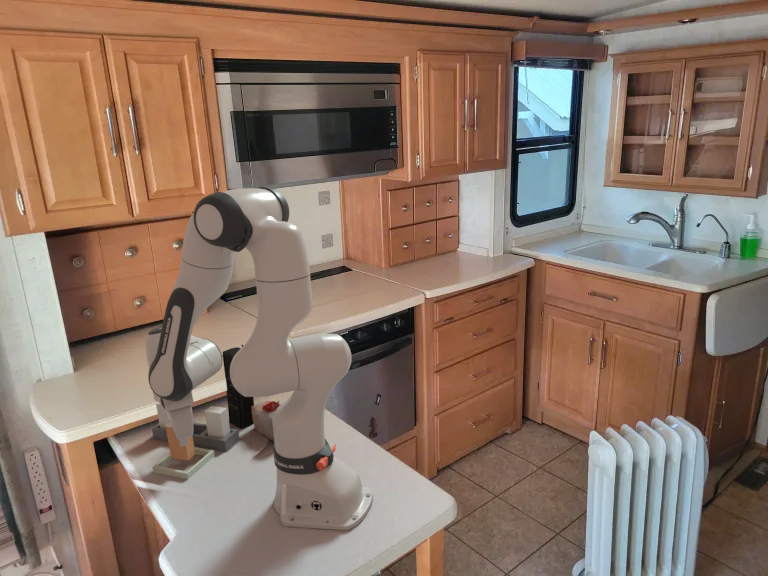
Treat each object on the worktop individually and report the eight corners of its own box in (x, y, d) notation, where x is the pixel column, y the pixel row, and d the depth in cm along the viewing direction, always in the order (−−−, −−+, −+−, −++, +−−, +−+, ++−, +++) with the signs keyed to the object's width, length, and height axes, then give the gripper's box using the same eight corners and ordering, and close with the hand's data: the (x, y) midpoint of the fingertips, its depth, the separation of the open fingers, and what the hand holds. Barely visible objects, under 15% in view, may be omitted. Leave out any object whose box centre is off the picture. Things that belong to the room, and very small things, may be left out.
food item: (249, 432, 160) (245, 400, 157) (273, 421, 165) (269, 390, 163) (278, 449, 151) (274, 416, 148) (302, 437, 156) (298, 404, 153)
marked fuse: (195, 453, 145) (189, 418, 142) (188, 460, 142) (182, 425, 139) (178, 451, 146) (172, 417, 143) (171, 458, 143) (165, 423, 140)
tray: (215, 459, 147) (214, 450, 147) (188, 482, 138) (187, 473, 137) (182, 452, 151) (180, 444, 150) (154, 475, 141) (152, 466, 141)
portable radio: (226, 424, 165) (215, 344, 158) (243, 416, 169) (233, 337, 162) (242, 432, 160) (231, 350, 153) (259, 423, 164) (250, 343, 157)
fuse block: (242, 441, 155) (237, 405, 152) (227, 455, 149) (222, 418, 146) (168, 429, 163) (162, 394, 160) (151, 442, 157) (144, 406, 154)
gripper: (151, 376, 146) (160, 424, 150) (166, 408, 129) (175, 461, 132) (177, 370, 149) (184, 417, 153) (194, 400, 132) (202, 453, 135)
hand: (180, 438), depth 142 cm, fingers closed on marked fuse, 6 cm apart
